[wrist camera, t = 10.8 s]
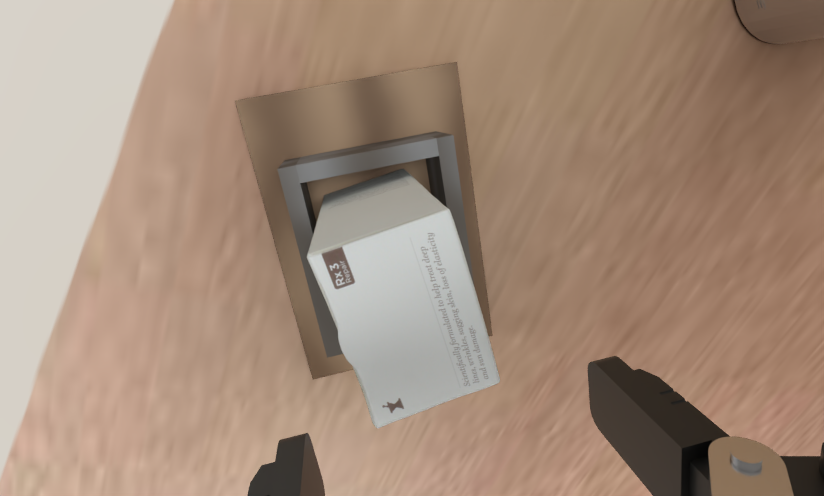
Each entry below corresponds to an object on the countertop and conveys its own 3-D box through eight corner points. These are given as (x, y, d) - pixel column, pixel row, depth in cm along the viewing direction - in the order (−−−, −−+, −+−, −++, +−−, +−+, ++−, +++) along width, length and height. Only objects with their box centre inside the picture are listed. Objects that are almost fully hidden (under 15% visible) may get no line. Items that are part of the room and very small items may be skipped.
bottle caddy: (452, 63, 30) (478, 54, 25) (488, 329, 37) (514, 366, 32) (237, 100, 29) (218, 99, 24) (313, 372, 35) (310, 417, 30)
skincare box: (436, 271, 33) (513, 390, 19) (357, 300, 33) (377, 441, 19) (401, 160, 31) (461, 205, 17) (314, 189, 30) (301, 261, 16)
